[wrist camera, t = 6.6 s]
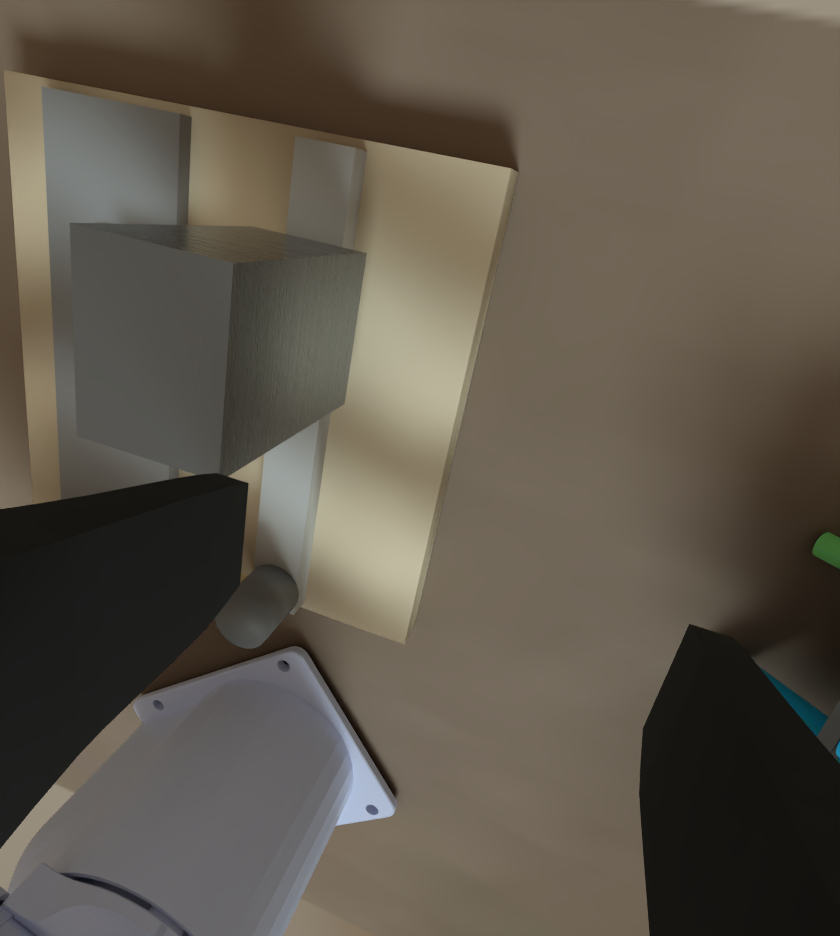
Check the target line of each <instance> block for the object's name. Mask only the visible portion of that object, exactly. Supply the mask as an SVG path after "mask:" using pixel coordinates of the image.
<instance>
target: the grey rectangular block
mask: <svg viewBox="0 0 840 936" xmlns="http://www.w3.org/2000/svg"><path fill="white" fill-rule="evenodd" d="M70 249H71V278H72V308H73V337H74V367H75V396H76V426H77V436H78V437H82V438H85V439H88V440H91V441H94V442H97V443H100V444H103V445H106V446H109V447H112V448H115V449H118V450H122V451H125V452H128V453H131V454H134V455H137V456H140V457H143V458H146V459H149V460H152V461H155V462H158V463H161V464H165V465H168V466H171V467H174V468H177V469H180V470H183V471H186V472H189V473H192V474H195V475H200V474H211V473H218V474H222V475H225V476H229V475H231V474H233V473H234V472H236V471H238V470H239V469H241V468H242V467H244V466H246V465H247V464H249V463H250V462H252V461H254V460H255V459H257V458H258V457H260V456H262V455H263V454H265V453H267V452H268V451H270V450H271V449H273V448H275V447H276V446H278V445H279V444H281V443H283V442H284V441H286V440H287V439H289V438H291V437H292V436H294V435H295V434H297V433H299V432H300V431H302V430H304V429H305V428H307V427H308V426H310V425H312V424H313V423H315V422H316V421H318V420H320V419H321V418H323V417H324V416H326V415H328V414H329V413H331V412H333V411H334V410H336V409H337V408H339V407H341V406H342V405H344V404H345V398H346V391H347V384H348V378H349V371H350V364H351V357H352V351H353V344H354V337H355V330H356V324H357V317H358V310H359V303H360V296H361V290H362V283H363V276H364V269H365V263H366V256H367V253H365V252H361V251H356V250H352V249H348V248H344V247H339V246H335V245H331V244H326V243H322V242H318V241H313V240H309V239H305V238H300V237H296V236H292V235H288V234H283V233H279V232H275V231H270V230H266V229H262V228H257V227H253V226H207V225H158V224H108V223H70Z"/></svg>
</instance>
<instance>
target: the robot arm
mask: <svg viewBox="0 0 840 936" xmlns="http://www.w3.org/2000/svg"><path fill="white" fill-rule="evenodd" d="M248 485H249V483H247V482H243V481H240V480H237V479H234V478H231V477H228V476H225V475H222V474H218V473H211V474H200V475H193V476H186V477H180V478H174V479H169V480H164V481H158V482H153V483H148V484H143V485H138V486H133V487H128V488H122V489H117V490H112V491H107V492H102V493H97V494H92V495H86V496H80V497H74V498H68V499H62V500H56V501H50V502H44V503H38V504H32V505H26V506H20V507H13V508H6V509H0V848H1V847H2V846H3V845H4V843H5V842H6V841H7V840H8V838H9V837H10V836H11V835H12V834H13V832H14V831H15V830H16V829H17V827H18V826H19V825H20V824H21V822H22V821H23V820H24V819H25V818H26V816H27V815H28V814H29V813H30V811H31V810H32V809H33V808H34V806H35V805H36V804H37V803H38V802H39V801H40V799H41V798H42V797H43V796H44V795H45V794H46V792H47V791H48V790H49V789H50V788H51V787H52V785H53V784H54V783H55V782H56V781H57V780H58V778H59V777H60V776H61V775H62V774H63V773H64V771H65V770H66V769H67V768H68V767H69V766H70V764H71V763H72V762H73V761H74V760H75V759H76V757H77V756H78V755H79V754H80V753H81V752H82V751H83V750H84V749H85V748H86V747H87V745H88V744H89V743H90V742H91V741H92V740H93V739H94V738H95V737H96V736H97V735H98V734H99V733H100V732H101V731H102V730H103V729H104V728H105V727H106V726H107V725H108V724H109V723H110V722H111V721H112V720H113V719H114V718H115V717H116V716H117V715H118V714H119V713H120V712H121V711H122V710H123V709H124V708H125V707H127V706H128V705H129V704H130V703H131V702H132V701H133V700H134V699H135V698H136V697H137V696H138V695H139V694H140V693H141V692H142V691H143V690H144V689H145V688H146V687H147V686H148V685H149V684H150V683H151V682H152V681H153V680H155V679H156V678H157V677H158V676H159V675H160V674H161V673H162V672H163V671H164V670H165V669H166V668H167V667H168V666H169V665H170V664H171V663H172V662H173V661H174V660H175V659H176V658H177V657H178V656H179V655H180V654H181V653H182V652H183V651H184V650H185V649H186V648H187V647H188V646H189V645H190V644H191V643H192V642H193V641H194V640H195V639H196V638H197V637H198V636H199V635H200V634H201V633H202V632H203V631H204V630H205V629H206V628H207V627H208V626H209V624H210V623H211V622H212V621H213V619H214V618H215V617H216V616H217V614H218V613H219V612H220V611H221V609H222V608H223V607H224V605H225V604H226V603H227V601H228V600H229V599H230V597H231V596H232V595H233V593H234V592H235V591H236V589H237V588H238V587H239V585H240V579H241V568H242V556H243V544H244V532H245V521H246V509H247V497H248ZM283 660H284V661H286V662H287V663H288V664H289V665H287V664H285V663H284V662H283ZM134 710H135V712H136V713H137V715H138V716H139V718H140V719H141V721H142V722H143V724H142V725H141V726H140V727H139V728H138V729H137V730H136V731H135V732H134V733H133V734H132V735H131V736H130V737H129V738H128V739H127V740H126V741H125V742H124V743H123V744H122V745H121V746H120V747H119V748H118V749H117V750H116V751H115V752H114V753H113V754H112V755H111V756H110V758H109V759H108V760H107V761H106V762H105V763H104V764H103V765H102V766H101V767H100V768H99V769H98V770H97V771H96V772H95V773H94V774H93V775H92V776H91V777H90V778H89V779H88V780H87V781H86V782H85V783H84V784H83V785H82V786H81V787H80V788H79V789H78V790H77V791H76V792H75V794H74V795H73V796H72V797H71V798H70V799H69V800H68V801H67V802H66V803H65V804H64V805H63V806H62V807H61V808H60V809H59V810H58V811H57V812H56V813H55V814H54V815H53V816H52V817H51V818H50V819H49V820H48V821H47V822H46V823H45V824H44V825H43V826H42V828H41V829H40V830H39V831H38V832H37V834H36V835H35V836H34V837H33V838H32V840H31V841H30V843H29V844H28V846H27V847H26V849H25V850H24V852H23V854H22V856H21V858H20V859H19V862H18V864H17V866H16V868H15V871H14V873H13V876H12V879H11V882H10V885H9V888H8V892H6V891H5V890H4V889H3V888H2V887H0V936H283V934H284V932H285V930H286V928H287V926H288V924H289V922H290V920H291V917H292V915H293V913H294V911H295V909H296V907H297V905H298V903H299V901H300V899H301V897H302V895H303V893H304V890H305V888H306V886H307V884H308V882H309V880H310V878H311V876H312V874H313V872H314V870H315V867H316V865H317V863H318V861H319V859H320V857H321V855H322V853H323V851H324V849H325V847H326V844H327V842H328V840H329V838H330V836H331V834H332V832H333V830H334V828H335V826H337V825H343V824H349V823H355V822H361V821H367V820H373V819H379V818H385V817H389V816H392V815H393V814H394V812H395V810H396V807H397V801H396V799H395V797H394V795H393V794H392V792H391V790H390V789H389V787H388V785H387V784H386V782H385V781H384V779H383V777H382V776H381V774H380V772H379V771H378V769H377V767H376V766H375V764H374V762H373V761H372V759H371V757H370V756H369V754H368V752H367V751H366V749H365V747H364V746H363V744H362V742H361V741H360V739H359V738H358V736H357V734H356V733H355V731H354V729H353V728H352V726H351V724H350V723H349V721H348V719H347V718H346V716H345V714H344V713H343V711H342V709H341V708H340V706H339V704H338V703H337V701H336V699H335V698H334V696H333V695H332V693H331V691H330V690H329V688H328V686H327V685H326V683H325V681H324V680H323V678H322V676H321V675H320V673H319V671H318V670H317V668H316V666H315V665H314V663H313V661H312V660H311V658H310V656H309V655H308V653H307V652H306V651H305V650H304V649H302V648H301V647H297V646H291V647H288V648H285V649H282V650H279V651H276V652H273V653H270V654H267V655H264V656H261V657H258V658H255V659H251V660H248V661H245V662H242V663H239V664H236V665H233V666H230V667H227V668H224V669H221V670H218V671H215V672H212V673H209V674H205V675H202V676H199V677H196V678H193V679H190V680H187V681H184V682H181V683H178V684H175V685H172V686H169V687H166V688H163V689H159V690H156V691H153V692H150V693H147V694H144V695H142V696H140V697H139V698H138V699H137V700H136V701H135V702H134ZM639 796H640V812H641V826H642V841H643V854H644V867H645V880H646V893H647V906H648V919H649V932H650V936H840V763H839V762H838V761H837V760H836V759H835V758H834V756H833V755H832V754H831V753H830V752H829V751H828V749H827V748H826V747H825V746H824V745H823V744H822V742H821V741H820V740H819V739H818V738H817V737H816V735H815V734H814V733H813V732H812V731H811V729H810V728H809V727H808V726H807V725H806V723H805V722H804V721H803V720H802V719H801V717H800V716H799V715H798V714H797V713H796V711H795V710H794V709H793V708H792V707H791V705H790V704H789V703H788V702H787V700H786V699H785V698H784V697H783V696H782V694H781V693H780V692H779V691H778V689H777V688H776V687H775V686H774V685H773V683H772V682H771V681H770V680H769V678H768V677H767V676H766V675H765V674H764V672H763V671H762V670H761V669H760V668H759V666H758V665H757V664H756V663H755V662H754V660H753V659H752V658H751V657H750V656H749V654H748V653H747V652H746V651H745V650H744V649H743V648H742V647H741V646H740V644H739V643H738V642H737V641H736V640H735V639H734V638H732V637H729V636H725V635H722V634H719V633H716V632H713V631H710V630H707V629H703V628H700V627H697V626H694V625H691V624H689V626H688V628H687V631H686V633H685V635H684V637H683V640H682V642H681V644H680V646H679V649H678V651H677V653H676V655H675V658H674V660H673V662H672V664H671V667H670V669H669V671H668V673H667V676H666V678H665V680H664V682H663V685H662V687H661V689H660V691H659V694H658V696H657V698H656V700H655V703H654V705H653V707H652V709H651V712H650V714H649V716H648V718H647V721H646V723H645V725H644V727H643V737H642V751H641V767H640V789H639Z"/></svg>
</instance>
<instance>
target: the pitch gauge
mask: <svg viewBox="0 0 840 936" xmlns="http://www.w3.org/2000/svg"><path fill="white" fill-rule="evenodd" d="M4 81H5V96H6V111H7V126H8V141H9V155H10V170H11V185H12V200H13V215H14V229H15V244H16V259H17V274H18V289H19V304H20V318H21V333H22V348H23V363H24V378H25V392H26V407H27V422H28V437H29V452H30V467H31V481H32V496H33V504H38V503H44V502H50V501H56V500H62V499H68V498H74V497H80V496H86V495H92V494H97V493H102V492H107V491H112V490H117V489H122V488H128V487H133V486H138V485H143V484H148V483H153V482H158V481H164V480H169V479H174V478H180V477H186V476H193V475H195V474H192V473H189V472H186V471H183V470H180V469H177V468H174V467H171V466H168V465H165V464H161V463H158V462H155V461H152V460H149V459H146V458H143V457H140V456H137V455H134V454H131V453H128V452H125V451H122V450H118V449H115V448H112V447H109V446H106V445H103V444H100V443H97V442H94V441H91V440H88V439H85V438H82V437H78V436H77V426H76V396H75V367H74V337H73V308H72V278H71V249H70V223H108V224H158V225H207V226H253V227H257V228H262V229H266V230H270V231H275V232H279V233H283V234H288V235H292V236H296V237H300V238H305V239H309V240H313V241H318V242H322V243H326V244H331V245H335V246H339V247H344V248H348V249H352V250H356V251H361V252H365V253H367V256H366V263H365V269H364V276H363V283H362V290H361V296H360V303H359V310H358V317H357V324H356V330H355V337H354V344H353V351H352V357H351V364H350V371H349V378H348V384H347V391H346V398H345V404H344V405H342V406H341V407H339V408H337V409H336V410H334V411H333V412H331V413H329V414H328V415H326V416H324V417H323V418H321V419H320V420H318V421H316V422H315V423H313V424H312V425H310V426H308V427H307V428H305V429H304V430H302V431H300V432H299V433H297V434H295V435H294V436H292V437H291V438H289V439H287V440H286V441H284V442H283V443H281V444H279V445H278V446H276V447H275V448H273V449H271V450H270V451H268V452H267V453H265V454H263V455H262V456H260V457H258V458H257V459H255V460H254V461H252V462H250V463H249V464H247V465H246V466H244V467H242V468H241V469H239V470H238V471H236V472H234V473H233V474H231V475H229V476H228V477H231V478H234V479H237V480H240V481H243V482H247V483H249V485H248V497H247V509H246V521H245V532H244V544H243V556H242V568H241V579H240V585H239V587H238V588H237V589H236V591H235V592H234V593H233V595H232V596H231V597H230V599H229V600H228V601H227V603H226V604H225V605H224V607H223V608H222V609H221V611H220V612H219V613H218V614H217V616H216V617H215V622H216V625H217V627H218V629H219V631H220V632H221V634H222V635H223V636H224V637H225V638H226V639H227V640H228V641H229V642H231V643H232V644H234V645H236V646H238V647H241V648H247V649H252V648H256V647H259V646H260V645H262V644H263V643H264V641H265V640H266V639H267V638H268V637H269V636H270V635H271V633H272V632H273V631H274V630H275V629H276V628H277V626H278V625H279V624H280V623H281V622H282V621H283V620H284V618H285V617H286V616H287V615H288V614H291V615H294V614H295V613H296V612H297V610H298V609H299V608H300V607H301V608H304V609H307V610H310V611H312V612H315V613H318V614H321V615H324V616H326V617H329V618H332V619H335V620H337V621H340V622H343V623H346V624H349V625H351V626H354V627H357V628H360V629H363V630H365V631H368V632H371V633H374V634H376V635H379V636H382V637H385V638H388V639H390V640H393V641H396V642H399V643H401V644H405V642H406V640H407V639H408V637H409V635H410V633H411V631H412V629H413V627H414V625H415V622H416V617H417V613H418V609H419V604H420V600H421V596H422V591H423V587H424V583H425V578H426V574H427V570H428V565H429V561H430V557H431V552H432V548H433V544H434V539H435V535H436V530H437V526H438V522H439V517H440V513H441V509H442V504H443V500H444V496H445V491H446V487H447V483H448V478H449V474H450V470H451V465H452V461H453V457H454V452H455V448H456V443H457V439H458V435H459V430H460V426H461V422H462V417H463V413H464V409H465V404H466V400H467V396H468V391H469V387H470V383H471V378H472V374H473V370H474V365H475V361H476V357H477V352H478V348H479V343H480V339H481V335H482V330H483V326H484V322H485V317H486V313H487V309H488V304H489V300H490V296H491V291H492V287H493V283H494V278H495V274H496V270H497V265H498V261H499V256H500V252H501V248H502V243H503V239H504V235H505V230H506V226H507V222H508V217H509V213H510V209H511V204H512V200H513V196H514V191H515V187H516V183H517V178H518V174H519V173H518V172H517V171H515V170H513V169H512V168H507V167H502V166H496V165H491V164H486V163H481V162H476V161H471V160H466V159H460V158H455V157H450V156H445V155H440V154H435V153H430V152H424V151H419V150H414V149H409V148H404V147H399V146H393V145H388V144H383V143H378V142H373V141H368V140H363V139H357V138H352V137H347V136H342V135H337V134H332V133H327V132H321V131H316V130H311V129H306V128H301V127H296V126H291V125H285V124H280V123H275V122H270V121H265V120H260V119H254V118H249V117H244V116H239V115H234V114H229V113H224V112H218V111H213V110H208V109H203V108H198V107H193V106H188V105H182V104H177V103H172V102H167V101H162V100H157V99H152V98H146V97H141V96H136V95H131V94H126V93H121V92H116V91H110V90H105V89H100V88H95V87H90V86H85V85H79V84H74V83H69V82H64V81H59V80H54V79H49V78H43V77H38V76H33V75H28V74H23V73H18V72H13V71H7V70H4Z"/></svg>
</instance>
